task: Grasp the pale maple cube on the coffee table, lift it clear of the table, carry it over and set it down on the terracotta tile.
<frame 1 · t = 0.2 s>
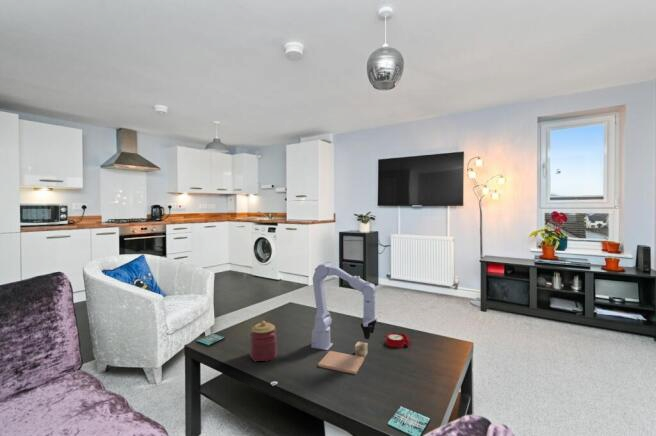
hand: (369, 335, 153), 10 cm above the table, tool pointing down, fingers open, 7 cm apart
maple cube: (361, 354, 155), on the table
canister: (263, 356, 153), on the table
terracotta tile: (341, 363, 146), on the table
alarm clock: (398, 344, 166), on the table
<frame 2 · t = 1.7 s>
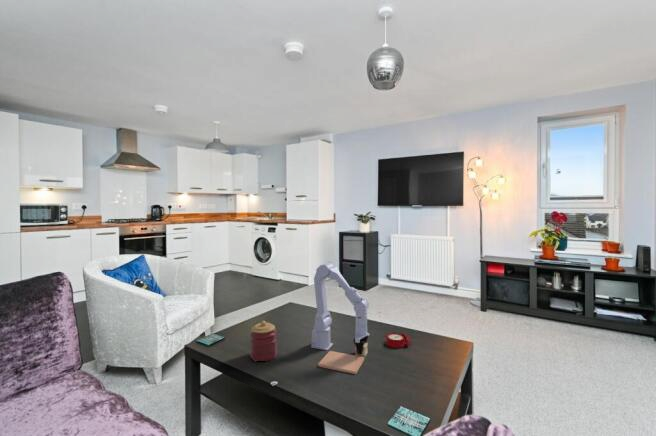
hand: (361, 351, 154), 1 cm above the table, tool pointing down, fingers closed on maple cube, 5 cm apart
maple cube: (361, 354, 155), on the table, touching gripper
everything else where it was.
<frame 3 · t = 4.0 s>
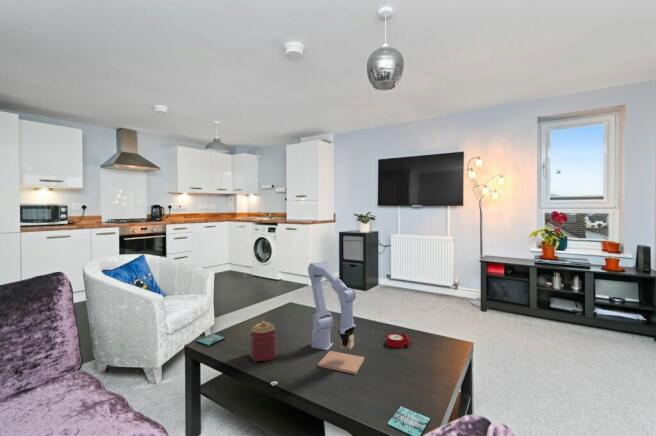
hand: (347, 343, 148), 8 cm above the table, tool pointing down, fingers closed on maple cube, 5 cm apart
maple cube: (347, 346, 148), point 7 cm above the table, touching gripper
everything else where it was.
when the fingers open (4 cm above the table, at t = 6.1 s): maple cube stays where it is, resting on terracotta tile.
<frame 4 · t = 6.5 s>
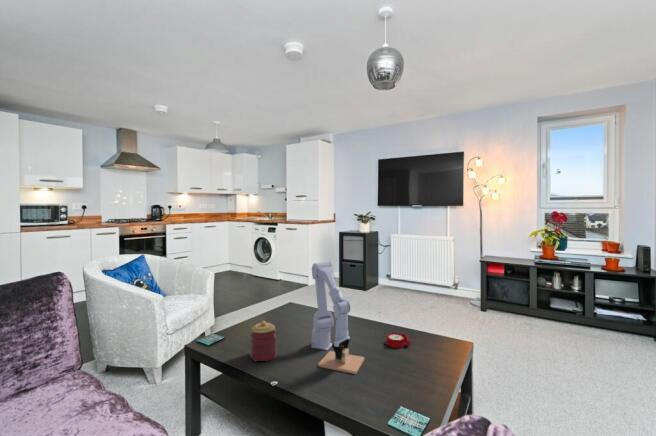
hand: (341, 355, 146), 4 cm above the table, tool pointing down, fingers open, 7 cm apart
maple cube: (342, 360, 146), point 1 cm above the table, touching terracotta tile
everything else where it was.
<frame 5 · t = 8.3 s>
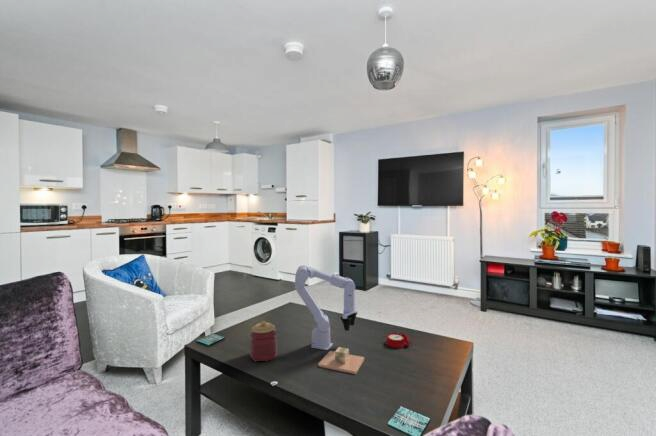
hand: (349, 327, 164), 9 cm above the table, tool pointing down, fingers open, 7 cm apart
nothing on the table moved.
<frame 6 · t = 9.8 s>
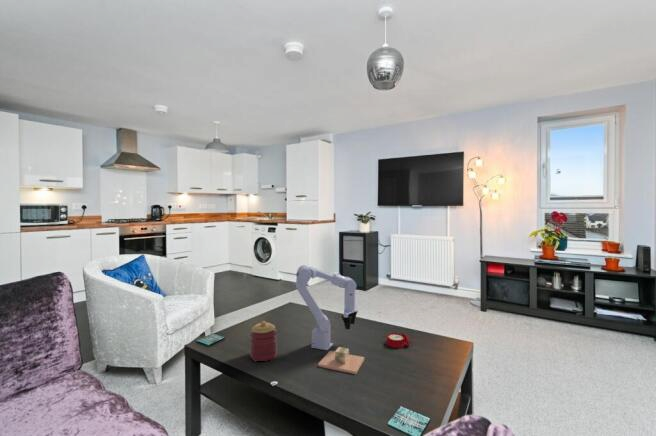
hand: (349, 326, 166), 9 cm above the table, tool pointing down, fingers open, 7 cm apart
nothing on the table moved.
at the end: maple cube inside the target area on the terracotta tile (0.1 cm from its centre), point 1.2 cm above the terracotta tile's base; maple cube tilted 0°; the gripper is holding nothing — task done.
